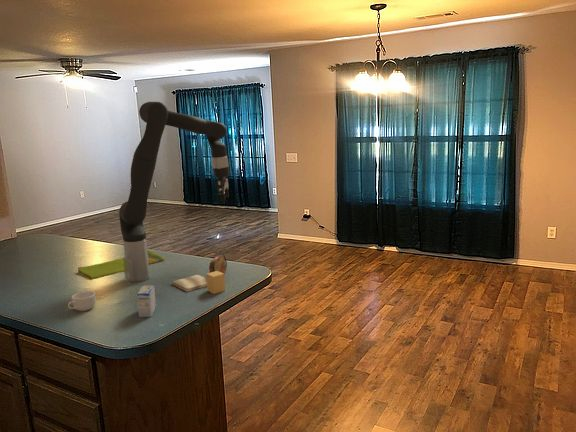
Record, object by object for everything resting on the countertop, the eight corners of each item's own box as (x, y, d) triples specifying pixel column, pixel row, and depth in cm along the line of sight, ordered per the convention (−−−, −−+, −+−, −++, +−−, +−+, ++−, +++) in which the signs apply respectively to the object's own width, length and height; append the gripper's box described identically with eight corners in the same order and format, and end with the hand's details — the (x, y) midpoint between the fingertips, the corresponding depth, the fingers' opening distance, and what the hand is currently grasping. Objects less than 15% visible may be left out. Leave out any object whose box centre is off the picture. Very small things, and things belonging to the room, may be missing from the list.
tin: (215, 282, 190) (214, 262, 188) (208, 282, 191) (207, 262, 189) (227, 270, 204) (226, 252, 203) (220, 270, 205) (220, 252, 203)
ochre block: (214, 294, 177) (213, 276, 176) (207, 290, 181) (206, 273, 179) (225, 290, 180) (224, 273, 179) (218, 287, 184) (217, 270, 183)
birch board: (187, 291, 180) (186, 288, 180) (172, 284, 189) (172, 281, 188) (213, 284, 188) (212, 281, 187) (197, 277, 196) (197, 274, 196)
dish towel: (165, 261, 222) (165, 255, 221) (92, 281, 196) (91, 273, 196) (148, 255, 232) (148, 249, 231) (77, 273, 207) (76, 266, 206)
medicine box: (143, 308, 165) (141, 285, 163) (156, 307, 165) (154, 284, 163) (138, 317, 157) (136, 293, 155) (152, 316, 157) (149, 293, 156)
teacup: (88, 303, 171) (87, 289, 170) (101, 307, 167) (99, 293, 166) (63, 312, 163) (61, 298, 162) (75, 317, 159) (73, 302, 157)
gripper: (216, 164, 222) (220, 196, 227) (209, 169, 209) (213, 203, 213) (231, 163, 222) (235, 195, 226) (225, 168, 208) (229, 202, 212)
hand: (224, 199), depth 219 cm, fingers open, 8 cm apart
